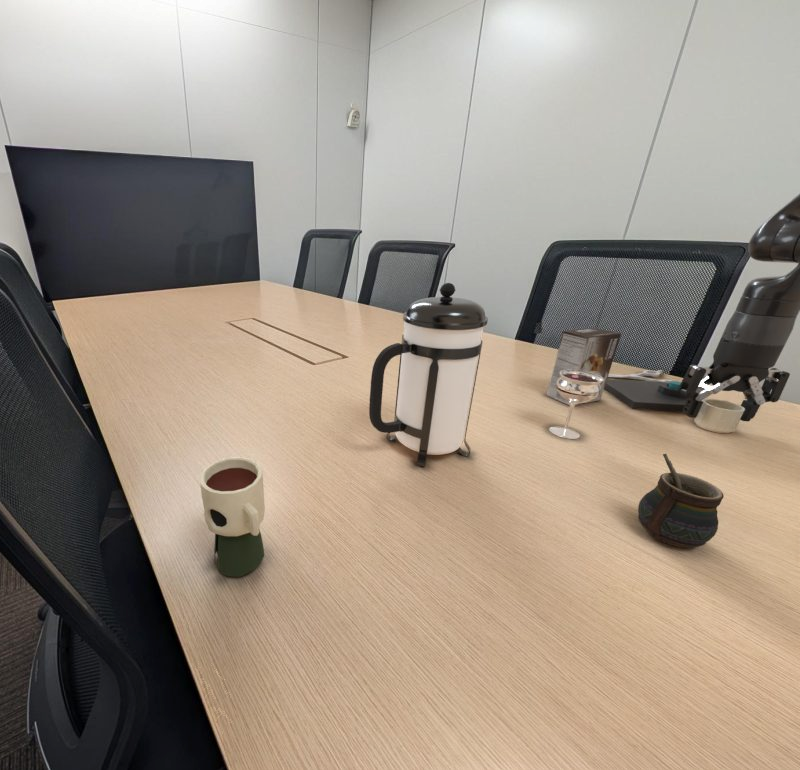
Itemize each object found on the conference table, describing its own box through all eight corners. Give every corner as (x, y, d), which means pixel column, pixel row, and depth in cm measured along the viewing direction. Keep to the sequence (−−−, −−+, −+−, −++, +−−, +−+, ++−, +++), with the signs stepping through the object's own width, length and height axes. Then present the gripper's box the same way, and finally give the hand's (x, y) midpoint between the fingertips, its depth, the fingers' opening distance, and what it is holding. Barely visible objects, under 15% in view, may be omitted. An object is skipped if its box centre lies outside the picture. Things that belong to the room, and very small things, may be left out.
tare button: (678, 386, 86) (680, 381, 86) (686, 391, 84) (689, 385, 83) (665, 385, 87) (667, 380, 86) (673, 390, 84) (675, 384, 84)
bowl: (718, 422, 76) (728, 399, 74) (742, 435, 71) (754, 412, 69) (685, 419, 77) (695, 398, 75) (707, 433, 72) (718, 409, 70)
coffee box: (574, 390, 92) (593, 326, 86) (601, 400, 86) (623, 333, 80) (545, 395, 90) (562, 330, 84) (570, 406, 84) (590, 337, 78)
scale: (664, 388, 92) (669, 376, 91) (710, 413, 80) (716, 400, 78) (598, 384, 95) (601, 373, 94) (632, 408, 82) (636, 396, 81)
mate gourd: (681, 563, 45) (716, 495, 41) (615, 520, 52) (639, 459, 48) (721, 548, 47) (758, 483, 43) (652, 509, 54) (678, 449, 50)
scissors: (691, 385, 91) (598, 379, 95) (690, 387, 92) (597, 382, 96) (661, 370, 101) (577, 366, 105) (660, 372, 101) (577, 368, 105)
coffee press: (393, 420, 80) (406, 275, 69) (474, 438, 73) (504, 279, 61) (364, 460, 67) (375, 288, 55) (461, 487, 59) (497, 295, 47)
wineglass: (579, 445, 69) (598, 385, 65) (538, 431, 74) (553, 375, 70) (590, 433, 73) (609, 376, 69) (550, 421, 78) (566, 367, 74)
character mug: (197, 544, 50) (184, 462, 45) (244, 522, 53) (237, 443, 48) (233, 606, 41) (222, 514, 36) (287, 575, 45) (283, 486, 40)
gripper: (782, 334, 69) (742, 412, 75) (690, 331, 72) (659, 406, 78) (825, 345, 62) (778, 430, 69) (722, 342, 65) (686, 423, 72)
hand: (715, 417), depth 74 cm, fingers open, 8 cm apart
